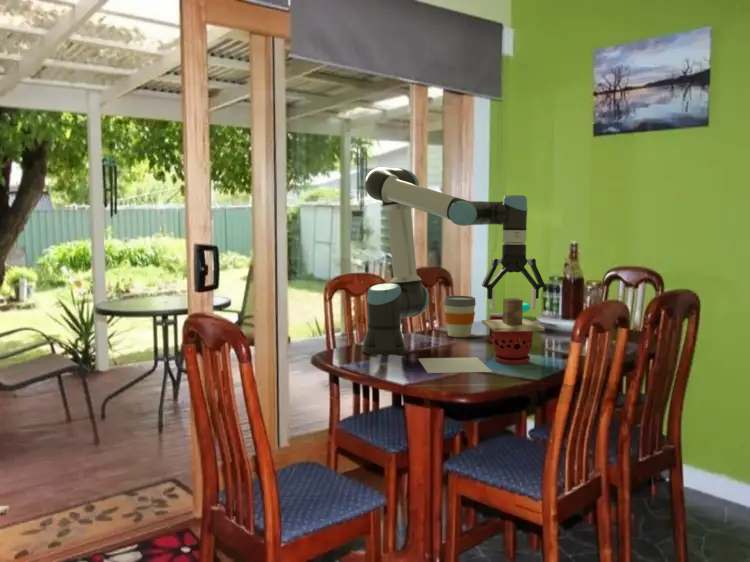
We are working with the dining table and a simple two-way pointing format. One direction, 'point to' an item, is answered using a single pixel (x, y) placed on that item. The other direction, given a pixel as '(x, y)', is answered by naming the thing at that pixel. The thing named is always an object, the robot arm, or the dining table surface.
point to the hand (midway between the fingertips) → (512, 309)
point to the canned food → (494, 317)
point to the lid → (512, 318)
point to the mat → (453, 365)
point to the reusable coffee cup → (459, 315)
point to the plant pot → (512, 346)
